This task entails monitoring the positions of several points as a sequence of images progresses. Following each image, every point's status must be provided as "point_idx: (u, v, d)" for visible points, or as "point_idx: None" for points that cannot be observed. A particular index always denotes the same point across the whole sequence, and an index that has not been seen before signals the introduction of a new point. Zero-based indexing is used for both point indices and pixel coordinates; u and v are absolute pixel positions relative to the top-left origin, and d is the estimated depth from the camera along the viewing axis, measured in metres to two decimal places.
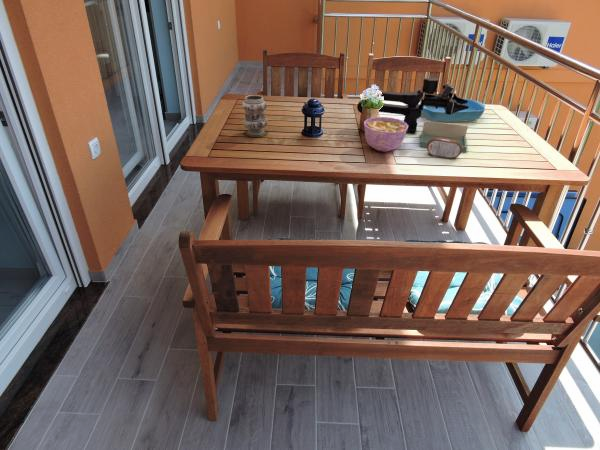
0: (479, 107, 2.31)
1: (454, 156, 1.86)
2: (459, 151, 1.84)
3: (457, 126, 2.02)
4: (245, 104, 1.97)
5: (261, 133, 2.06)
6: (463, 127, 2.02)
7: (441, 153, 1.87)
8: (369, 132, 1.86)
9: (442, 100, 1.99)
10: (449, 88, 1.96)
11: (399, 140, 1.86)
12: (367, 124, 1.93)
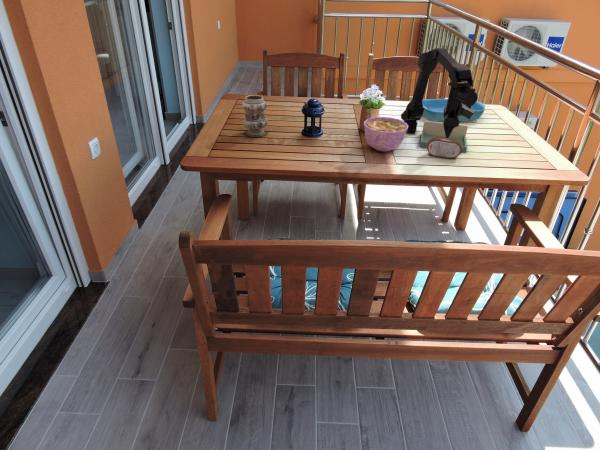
0: (479, 107, 2.31)
1: (454, 156, 1.86)
2: (459, 151, 1.84)
3: None
4: (245, 104, 1.97)
5: (261, 133, 2.06)
6: (463, 127, 2.02)
7: (441, 153, 1.87)
8: (369, 132, 1.86)
9: (456, 109, 1.74)
10: (470, 115, 1.74)
11: (399, 140, 1.86)
12: (367, 124, 1.93)
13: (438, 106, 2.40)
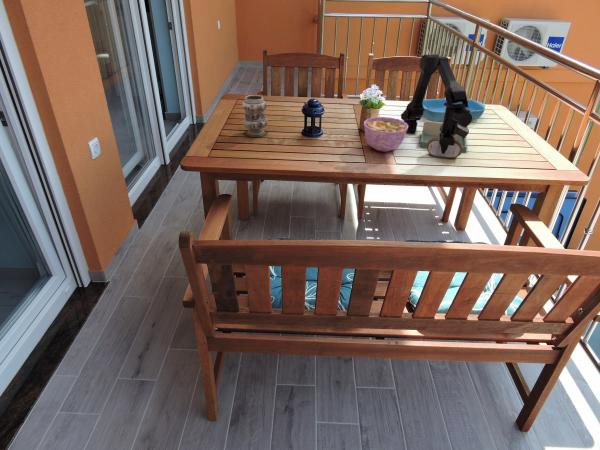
0: (479, 107, 2.31)
1: (454, 156, 1.86)
2: (459, 151, 1.84)
3: None
4: (245, 104, 1.97)
5: (261, 133, 2.06)
6: None
7: (441, 153, 1.87)
8: (369, 132, 1.86)
9: (452, 128, 1.79)
10: (465, 134, 1.79)
11: (399, 140, 1.86)
12: (367, 124, 1.93)
13: (438, 106, 2.40)
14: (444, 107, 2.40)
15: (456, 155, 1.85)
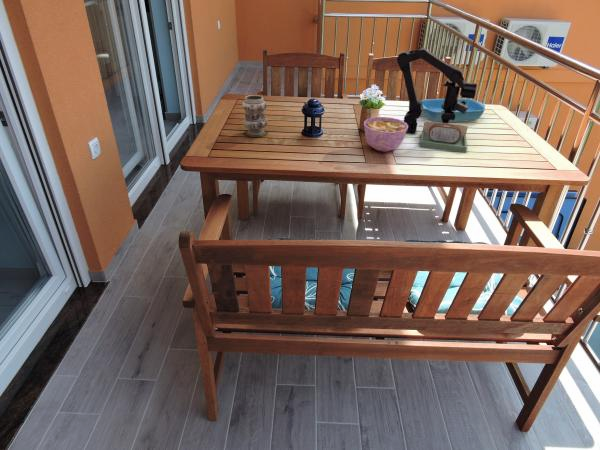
0: (479, 107, 2.31)
1: (454, 141, 1.98)
2: (459, 136, 1.96)
3: (457, 126, 2.02)
4: (245, 104, 1.97)
5: (261, 133, 2.06)
6: (463, 127, 2.02)
7: (442, 138, 1.99)
8: (369, 132, 1.86)
9: (452, 105, 1.98)
10: (464, 110, 1.98)
11: (399, 140, 1.86)
12: (367, 124, 1.93)
13: (438, 106, 2.40)
14: None
15: (456, 140, 1.98)
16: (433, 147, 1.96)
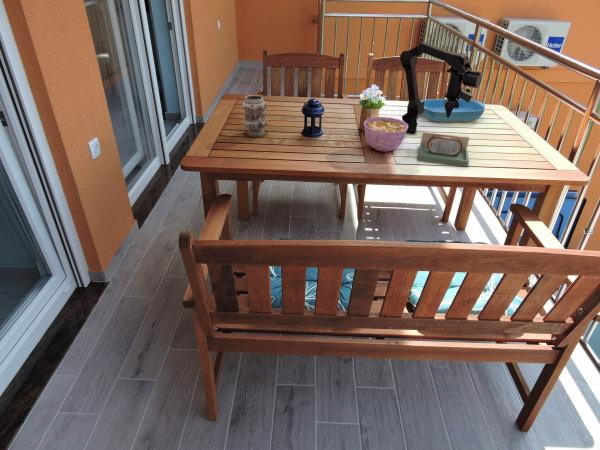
0: (479, 107, 2.31)
1: (455, 153, 1.86)
2: (460, 148, 1.84)
3: None
4: (245, 104, 1.97)
5: (261, 133, 2.06)
6: (464, 139, 1.89)
7: (442, 151, 1.87)
8: (369, 132, 1.86)
9: (456, 93, 1.88)
10: (469, 99, 1.88)
11: (399, 140, 1.86)
12: (367, 124, 1.93)
13: (438, 106, 2.40)
14: (444, 107, 2.40)
15: (457, 152, 1.86)
16: (432, 161, 1.83)
